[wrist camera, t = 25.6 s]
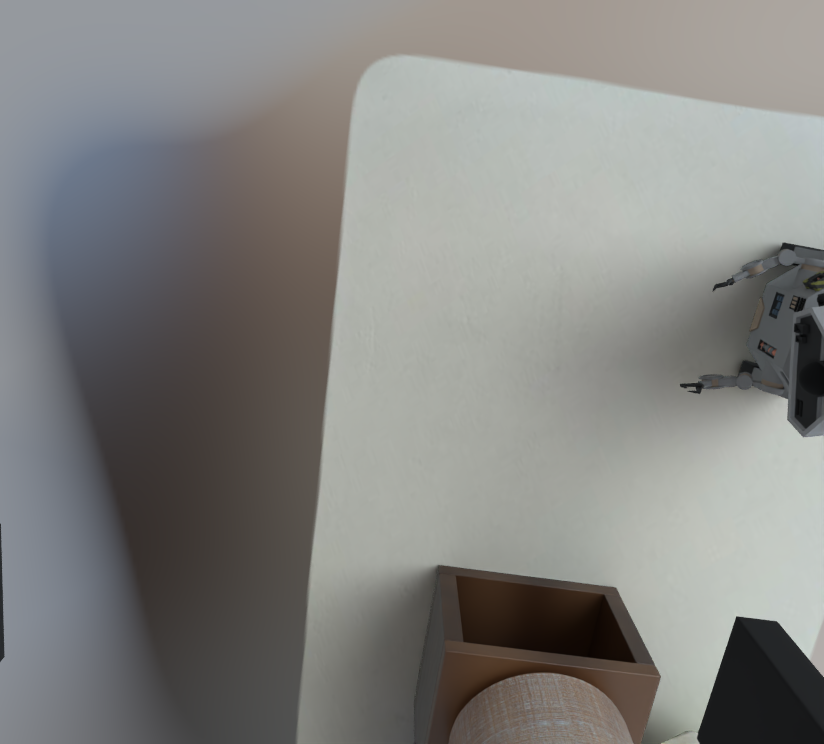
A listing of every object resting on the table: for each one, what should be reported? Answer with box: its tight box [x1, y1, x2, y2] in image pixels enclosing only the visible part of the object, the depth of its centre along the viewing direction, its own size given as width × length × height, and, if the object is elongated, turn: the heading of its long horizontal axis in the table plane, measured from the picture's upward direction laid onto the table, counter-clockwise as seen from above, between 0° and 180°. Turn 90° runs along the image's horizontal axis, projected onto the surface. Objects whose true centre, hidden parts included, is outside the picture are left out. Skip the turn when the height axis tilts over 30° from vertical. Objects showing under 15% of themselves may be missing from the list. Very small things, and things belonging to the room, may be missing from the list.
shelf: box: [414, 565, 661, 744], centre depth 45 cm, size 13×12×9 cm
